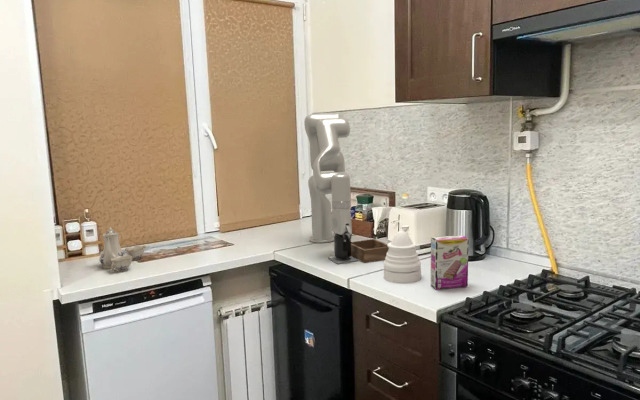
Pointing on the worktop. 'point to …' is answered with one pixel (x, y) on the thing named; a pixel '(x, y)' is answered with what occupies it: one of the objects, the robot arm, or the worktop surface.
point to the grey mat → (343, 260)
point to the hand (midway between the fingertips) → (342, 248)
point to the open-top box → (369, 250)
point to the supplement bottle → (340, 247)
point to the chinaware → (118, 252)
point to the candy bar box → (449, 262)
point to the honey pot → (402, 259)
